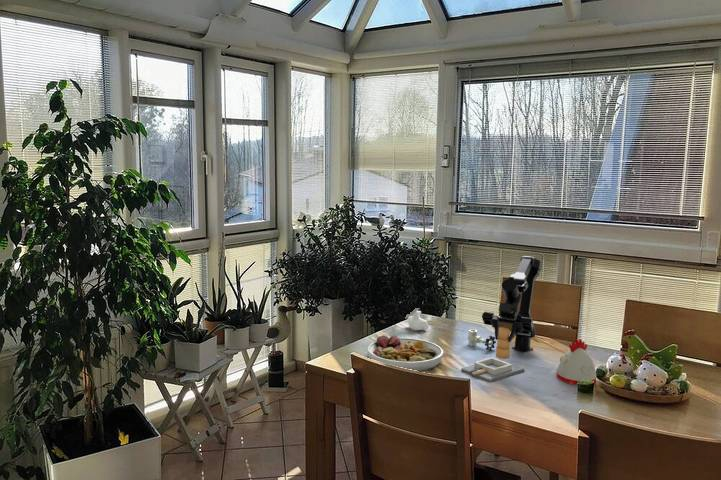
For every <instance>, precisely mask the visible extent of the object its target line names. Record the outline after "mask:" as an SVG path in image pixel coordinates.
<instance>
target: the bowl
mask: <svg viewBox="0 0 721 480" xmlns="http://www.w3.org/2000/svg"><path fill="white" fill-rule="evenodd" d="M367 355H368V356H367V357H368V359H370V358H371V359H374V360H377V361H380V362H383V363H386V364H391V365H395V366H398V367H403V368H407V369H412V370H417V371H416V372H422V371H427V370H430V369H433V368H435V367H436V366H438V365H439V364H440V362H441V361H442V359H443V357H444V350H443V349H442V347H440V345H438V344H436V343H434V342H430V341H427V340H424V339H418V338H409V337H398V336H397V335H392V336H390V337H388V336H387V335H384V334H382V335H380V336H379V337H377V338H376V341H374V342H372V343H370V344H369V345H368V346H367Z"/></svg>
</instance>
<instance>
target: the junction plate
mask: <svg viewBox="0 0 721 480" xmlns="http://www.w3.org/2000/svg"><path fill="white" fill-rule="evenodd" d="M460 370H461V372H464V373H466V374H468V375H471V376H472V377H473V376H474V377H476V378H479V379H481V380H483V381H486V382H489V383H492V382H495V381H497V380H500V379H504V378H507V377H510V376H513V375H516V374H519V373H522V372H525V368H524V367H522V366H518V365H515V364H513V363H510V362H508V361H505V360H503V359H500V358H497V357H496V358H495V357H492V356H491V357H488V358H483V359H481V360H476V361H474V364H472V365H468V366H465V367H464V366H463V367H462V368H461V369H460Z"/></svg>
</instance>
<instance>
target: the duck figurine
mask: <svg viewBox="0 0 721 480" xmlns="http://www.w3.org/2000/svg"><path fill="white" fill-rule="evenodd" d="M421 314H422V311H421V310H419V309H416V310H415V311H414V312H413V313H411V315H408V316H407V318H406V319H407V320H406V321H407V323H408V327H409V328H410V329H411V330H413V331H427V330H428V329H429V323H428V321H427V320H426V319H423V318H421V316H420V315H421Z"/></svg>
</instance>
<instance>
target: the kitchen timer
mask: <svg viewBox="0 0 721 480" xmlns="http://www.w3.org/2000/svg"><path fill="white" fill-rule="evenodd" d="M568 346H569V350H567V351H566V352H565V353H564V354H563V355H561V356H560V358H559V364H558V367H557V369H556V378H557V379H559V381H561V380H562V382H563V381H564V383H566V382H567V383H566V384H571V385H575V386H578V385H577V383H578V381H579V380H583V379H588V380H592V381H594V382H595V383H596V382H597V370H596V367H595V363H594V360H593V359H592V357H591V355H590V354H589V353H588V351H587V348H588V344H586V342H585V341H582V339H580V338H579V339H575V341H574V340H572V341H571V344H568Z"/></svg>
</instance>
